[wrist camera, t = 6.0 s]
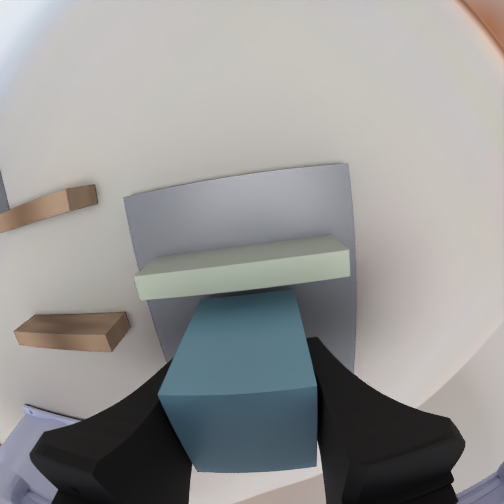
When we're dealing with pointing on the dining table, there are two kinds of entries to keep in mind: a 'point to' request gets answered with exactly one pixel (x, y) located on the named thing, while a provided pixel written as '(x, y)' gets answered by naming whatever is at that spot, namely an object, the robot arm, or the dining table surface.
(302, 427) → the blue rectangular block
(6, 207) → the external hard drive
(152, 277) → the dock
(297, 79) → the dining table surface
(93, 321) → the cradle
